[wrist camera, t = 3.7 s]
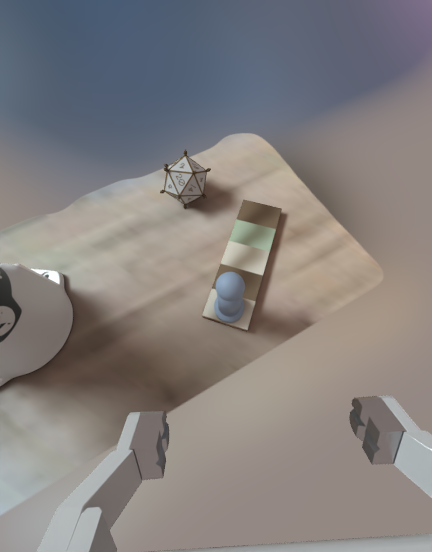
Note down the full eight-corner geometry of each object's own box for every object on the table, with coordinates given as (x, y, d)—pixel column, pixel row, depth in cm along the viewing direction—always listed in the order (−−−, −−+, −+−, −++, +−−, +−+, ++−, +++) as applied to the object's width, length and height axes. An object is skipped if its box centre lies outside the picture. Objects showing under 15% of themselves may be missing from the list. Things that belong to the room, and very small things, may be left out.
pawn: (210, 317, 37) (204, 293, 27) (219, 291, 39) (217, 258, 28) (239, 326, 36) (244, 305, 26) (247, 299, 38) (255, 269, 28)
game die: (200, 210, 51) (223, 199, 42) (158, 213, 47) (174, 201, 38) (193, 165, 50) (215, 143, 41) (150, 164, 46) (164, 140, 37)
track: (202, 317, 38) (202, 315, 37) (243, 203, 46) (243, 199, 45) (246, 331, 37) (247, 329, 36) (280, 212, 45) (281, 208, 44)
